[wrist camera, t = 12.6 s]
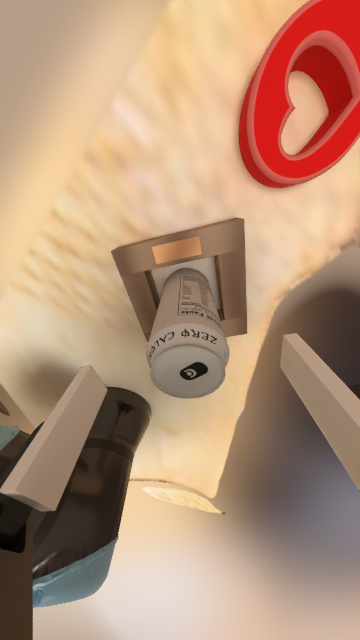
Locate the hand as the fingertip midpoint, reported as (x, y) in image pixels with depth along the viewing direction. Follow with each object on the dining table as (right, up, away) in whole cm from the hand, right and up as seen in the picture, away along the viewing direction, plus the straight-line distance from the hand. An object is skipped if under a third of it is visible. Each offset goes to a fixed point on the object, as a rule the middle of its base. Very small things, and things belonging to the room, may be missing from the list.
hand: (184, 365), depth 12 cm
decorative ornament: (+10, +21, +4) cm, 24 cm away
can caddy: (+1, +7, +12) cm, 14 cm away
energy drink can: (+1, +8, +12) cm, 14 cm away
